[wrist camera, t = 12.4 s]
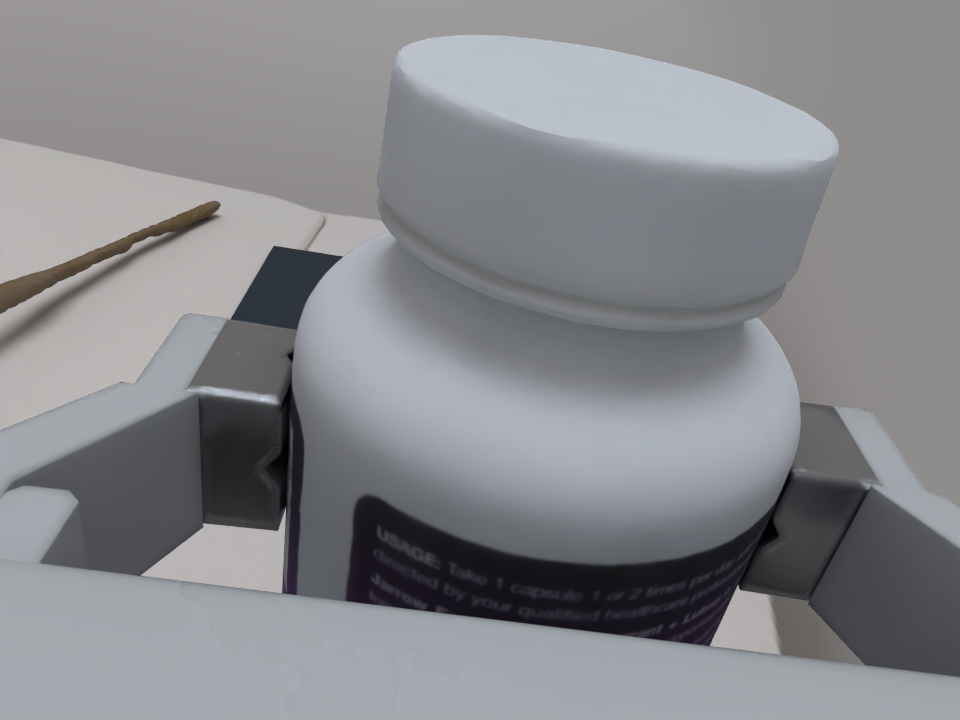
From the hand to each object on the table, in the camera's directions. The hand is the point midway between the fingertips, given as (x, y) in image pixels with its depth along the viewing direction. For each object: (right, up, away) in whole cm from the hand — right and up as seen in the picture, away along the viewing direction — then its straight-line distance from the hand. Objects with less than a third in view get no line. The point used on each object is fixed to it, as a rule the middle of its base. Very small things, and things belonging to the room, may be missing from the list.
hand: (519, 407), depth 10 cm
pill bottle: (-1, -5, +2) cm, 6 cm away
